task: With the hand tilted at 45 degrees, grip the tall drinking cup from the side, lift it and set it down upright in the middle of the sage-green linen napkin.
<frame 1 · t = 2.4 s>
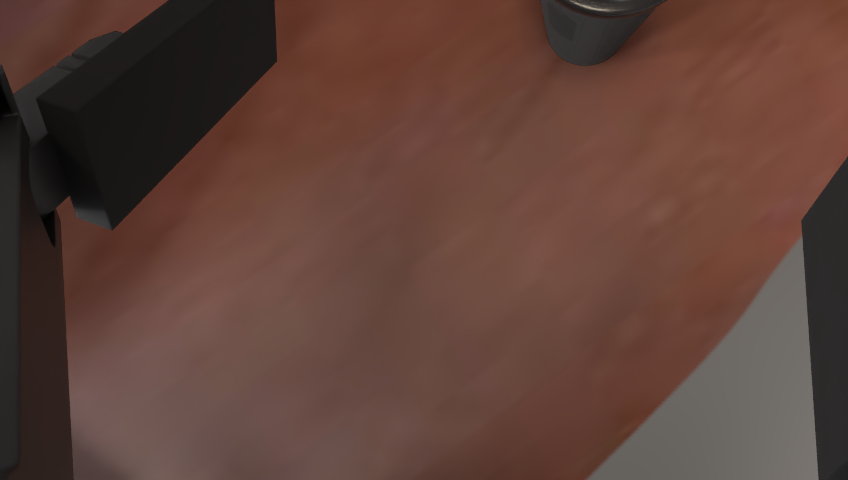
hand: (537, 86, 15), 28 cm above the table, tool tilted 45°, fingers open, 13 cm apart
drinking cup: (586, 28, 43), on the table
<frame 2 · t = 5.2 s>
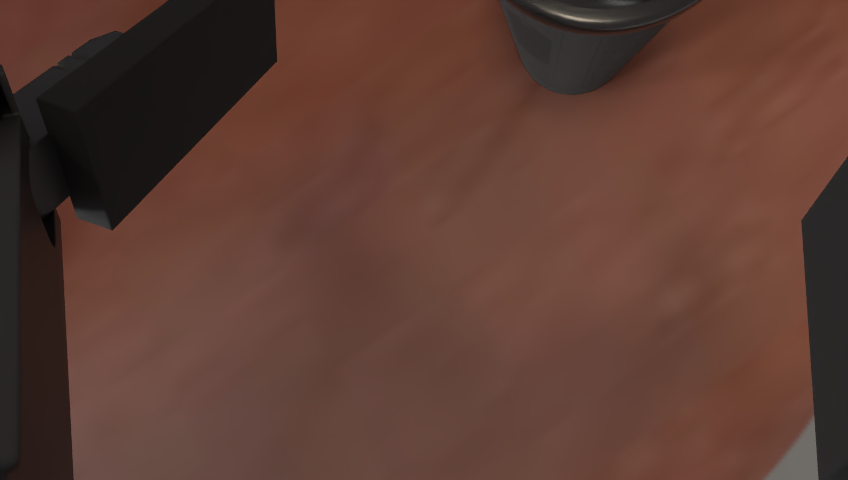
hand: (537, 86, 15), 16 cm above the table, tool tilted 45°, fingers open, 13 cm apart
drinking cup: (573, 42, 31), on the table
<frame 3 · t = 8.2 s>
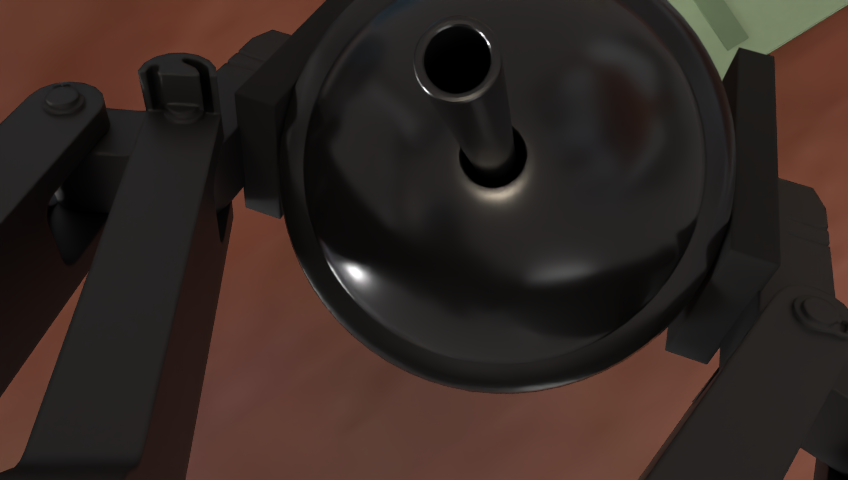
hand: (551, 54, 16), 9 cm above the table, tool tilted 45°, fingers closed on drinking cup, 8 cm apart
drinking cup: (514, 211, 25), on the table, touching gripper
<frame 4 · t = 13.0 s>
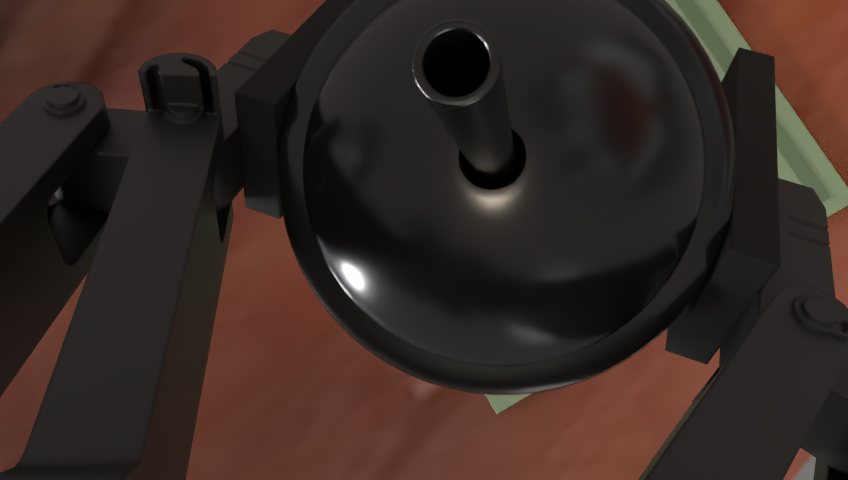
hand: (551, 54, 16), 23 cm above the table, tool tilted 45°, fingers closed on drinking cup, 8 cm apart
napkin: (558, 142, 39), on the table
drinking cup: (513, 212, 25), point 14 cm above the table, touching gripper
when the fingers open (9 cm above the table, at t = 17.8 s): drinking cup stays where it is, resting on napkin.
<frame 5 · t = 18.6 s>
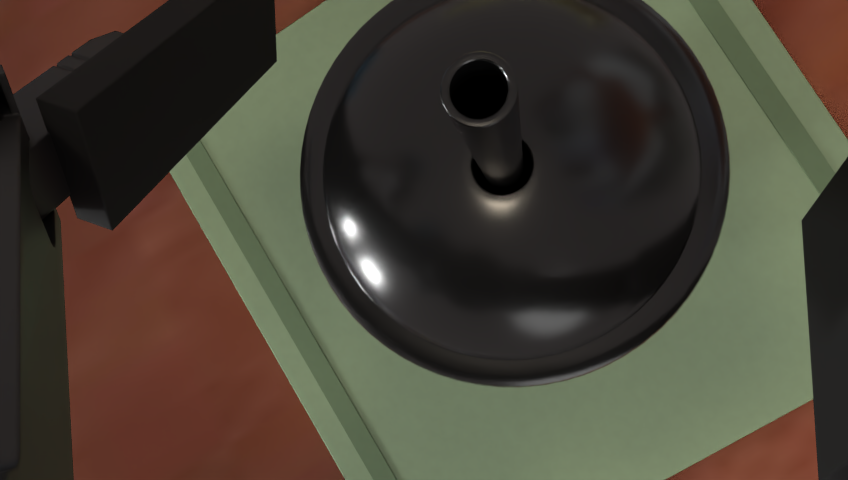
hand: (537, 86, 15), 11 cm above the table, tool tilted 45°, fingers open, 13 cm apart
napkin: (517, 212, 26), on the table
drinking cup: (517, 214, 26), resting on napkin
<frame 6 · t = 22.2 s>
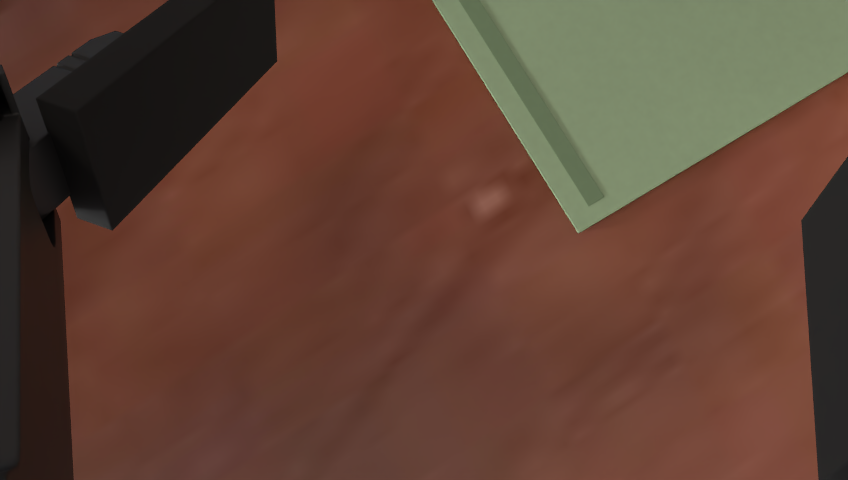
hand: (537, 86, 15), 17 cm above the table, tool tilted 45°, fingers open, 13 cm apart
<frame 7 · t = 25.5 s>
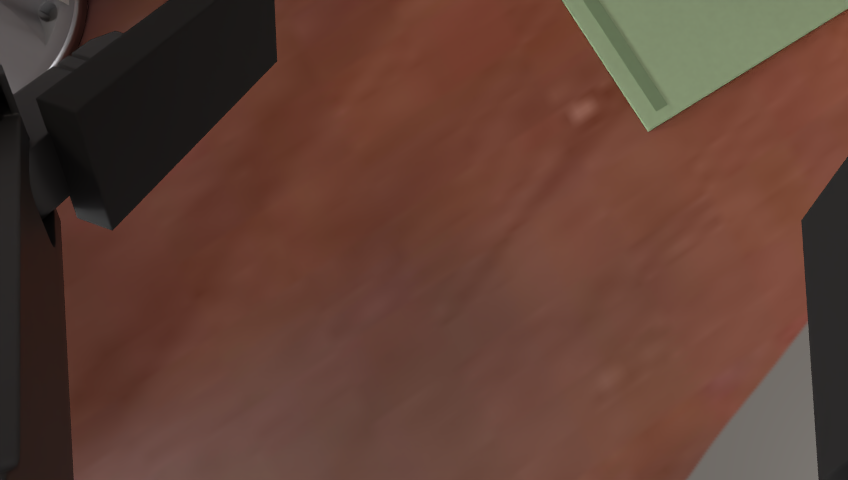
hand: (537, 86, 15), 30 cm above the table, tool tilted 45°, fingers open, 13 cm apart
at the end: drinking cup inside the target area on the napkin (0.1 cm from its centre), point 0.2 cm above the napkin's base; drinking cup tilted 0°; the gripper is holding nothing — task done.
